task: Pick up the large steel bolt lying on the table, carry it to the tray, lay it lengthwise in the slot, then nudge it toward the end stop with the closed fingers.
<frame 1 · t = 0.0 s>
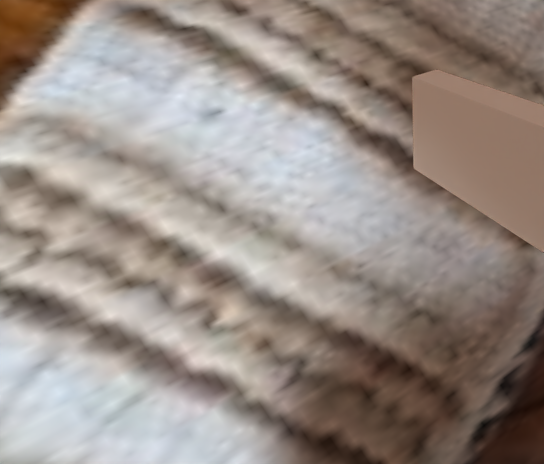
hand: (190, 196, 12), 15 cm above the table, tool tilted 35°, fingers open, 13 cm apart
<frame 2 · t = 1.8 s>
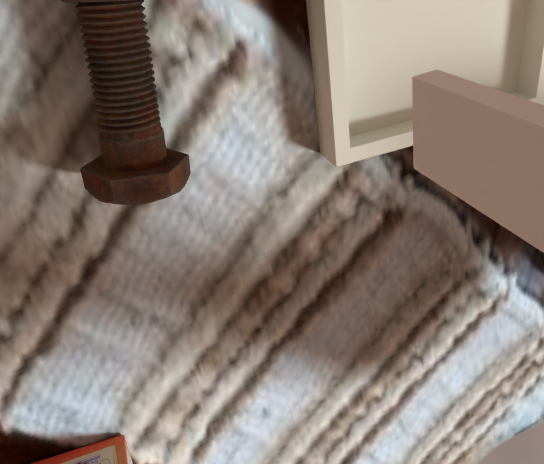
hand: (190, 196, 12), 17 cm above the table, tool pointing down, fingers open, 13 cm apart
bolt: (117, 39, 26), on the table
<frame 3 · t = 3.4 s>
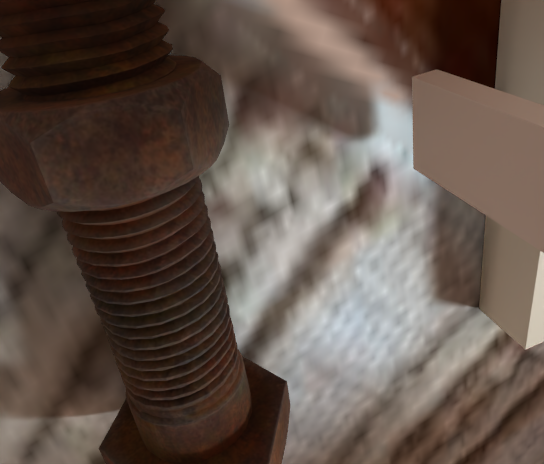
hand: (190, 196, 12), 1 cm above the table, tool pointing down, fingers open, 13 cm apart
bolt: (141, 201, 14), on the table
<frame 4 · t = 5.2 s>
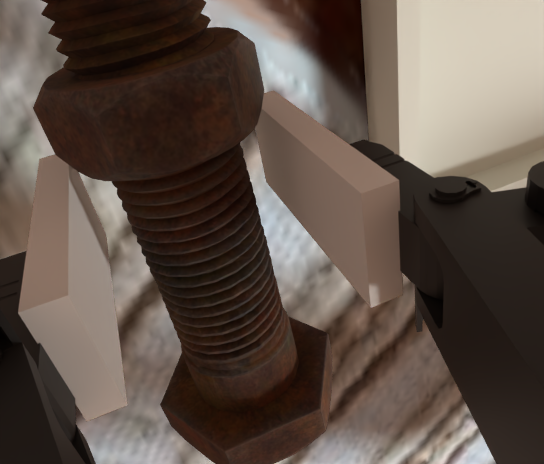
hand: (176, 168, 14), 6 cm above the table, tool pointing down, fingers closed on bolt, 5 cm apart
bolt: (180, 172, 15), point 6 cm above the table, touching gripper
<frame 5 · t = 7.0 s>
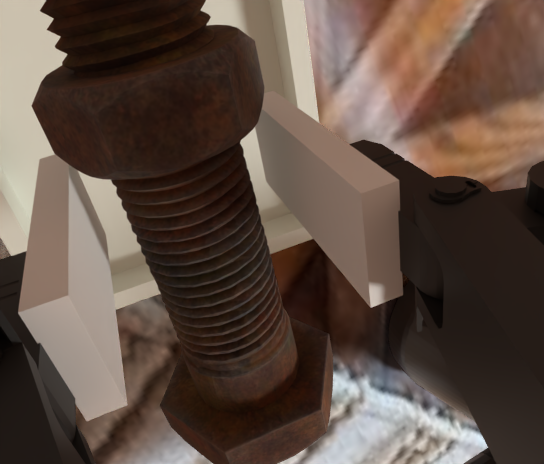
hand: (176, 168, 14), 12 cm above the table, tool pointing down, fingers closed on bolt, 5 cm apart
tray: (135, 80, 23), on the table
bolt: (180, 171, 15), point 11 cm above the table, touching gripper
when the fingers open (1 cm above the table, at t = 9.0 s): bolt stays where it is, resting on tray.
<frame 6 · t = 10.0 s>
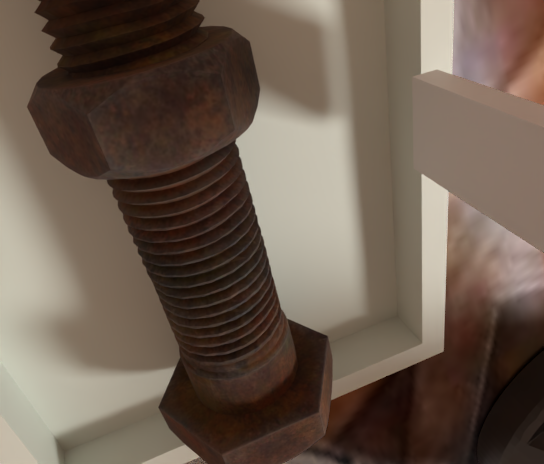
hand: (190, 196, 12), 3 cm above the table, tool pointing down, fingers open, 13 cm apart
tray: (170, 155, 15), on the table
bolt: (178, 173, 15), point 1 cm above the table, touching tray
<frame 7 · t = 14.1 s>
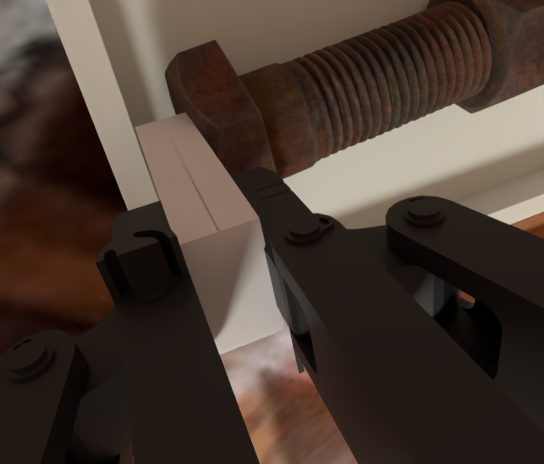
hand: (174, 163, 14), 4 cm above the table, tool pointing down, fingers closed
tray: (374, 64, 19), on the table
bolt: (370, 59, 18), point 1 cm above the table, touching tray, gripper
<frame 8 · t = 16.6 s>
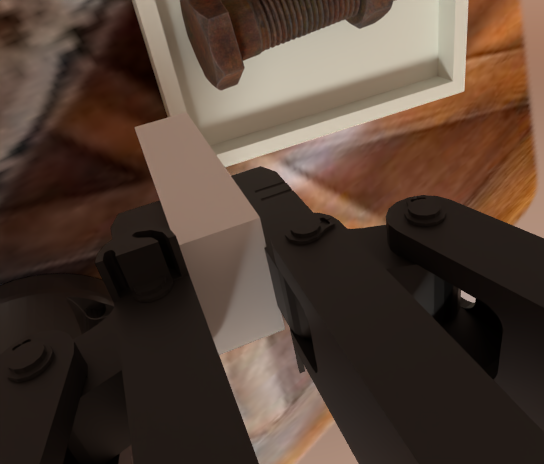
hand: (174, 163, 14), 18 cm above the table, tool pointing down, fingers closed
tray: (304, 4, 31), on the table
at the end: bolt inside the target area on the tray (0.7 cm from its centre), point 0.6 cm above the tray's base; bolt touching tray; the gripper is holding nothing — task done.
